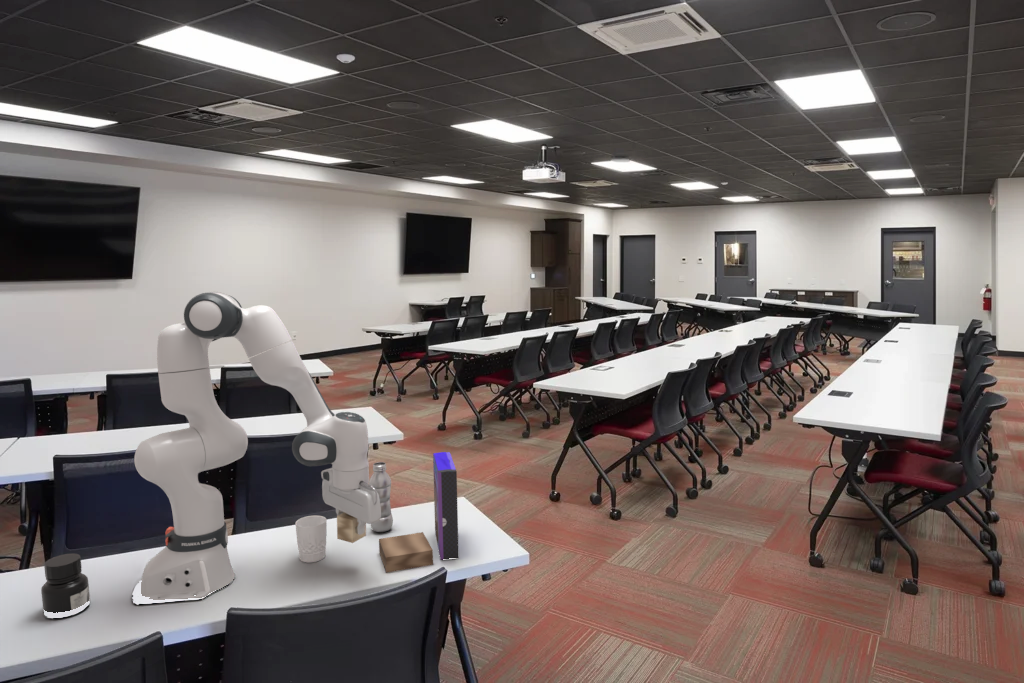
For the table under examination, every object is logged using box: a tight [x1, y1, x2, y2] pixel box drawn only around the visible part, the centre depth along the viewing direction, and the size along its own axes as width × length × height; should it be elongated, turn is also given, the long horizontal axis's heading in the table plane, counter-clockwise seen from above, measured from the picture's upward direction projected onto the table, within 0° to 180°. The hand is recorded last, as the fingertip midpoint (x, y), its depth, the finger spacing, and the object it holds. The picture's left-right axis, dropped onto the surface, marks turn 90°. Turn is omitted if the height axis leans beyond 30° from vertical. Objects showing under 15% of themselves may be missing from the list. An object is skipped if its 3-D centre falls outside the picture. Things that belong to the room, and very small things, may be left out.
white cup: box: [295, 515, 328, 563], centre depth 176 cm, size 8×8×10 cm
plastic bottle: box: [368, 461, 394, 533], centre depth 192 cm, size 6×7×20 cm
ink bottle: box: [41, 553, 91, 613], centre depth 150 cm, size 10×9×12 cm
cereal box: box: [432, 451, 460, 561], centre depth 181 cm, size 17×5×24 cm, turn 11°
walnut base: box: [378, 531, 434, 573], centre depth 174 cm, size 12×12×4 cm
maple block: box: [336, 513, 367, 544], centre depth 168 cm, size 5×5×6 cm
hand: (351, 529), depth 168 cm, fingers closed on maple block, 6 cm apart
